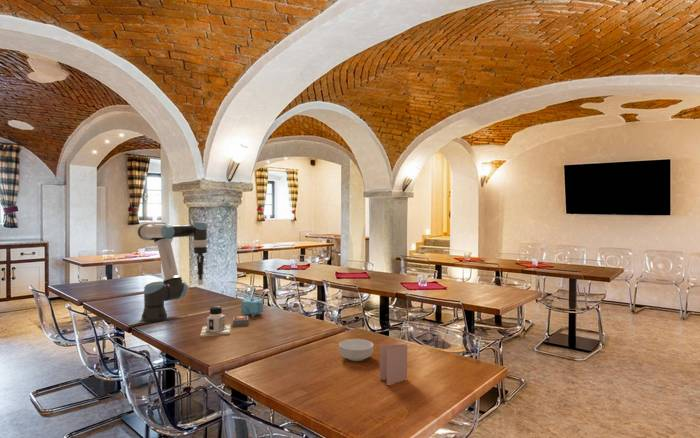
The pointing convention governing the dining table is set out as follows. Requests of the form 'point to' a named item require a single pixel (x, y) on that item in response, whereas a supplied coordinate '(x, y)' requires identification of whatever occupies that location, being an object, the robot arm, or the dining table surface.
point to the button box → (240, 321)
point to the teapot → (252, 306)
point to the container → (215, 319)
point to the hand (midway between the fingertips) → (200, 284)
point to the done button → (240, 317)
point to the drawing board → (215, 333)
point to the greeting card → (393, 363)
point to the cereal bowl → (356, 349)
